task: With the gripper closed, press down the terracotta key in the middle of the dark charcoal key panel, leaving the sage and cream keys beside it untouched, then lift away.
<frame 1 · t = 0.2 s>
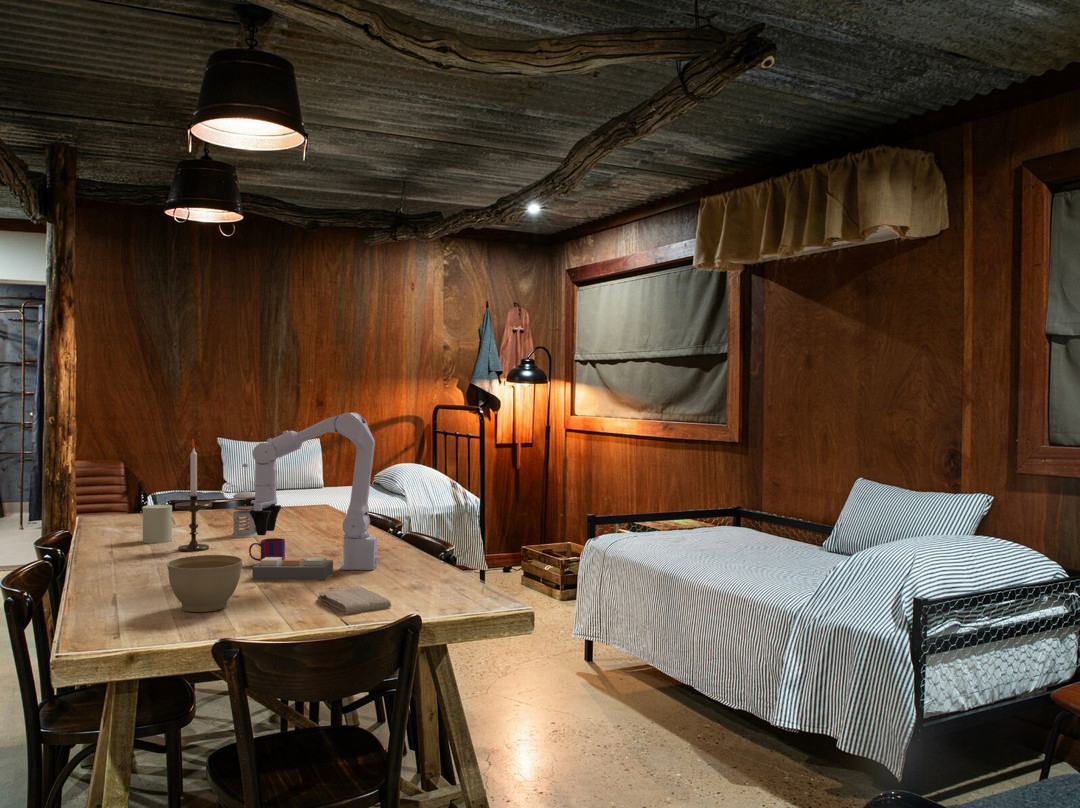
hand: (265, 533, 247), 10 cm above the table, fingers open, 7 cm apart
can: (157, 541, 290), on the table
washcloth: (353, 606, 206), on the table
planter bowl: (205, 609, 201), on the table
key panel: (293, 576, 236), on the table
terracotta key: (293, 562, 236), point 4 cm above the table, slide at 0.0 cm
candlestick: (193, 549, 275), on the table
cream key: (271, 562, 236), point 4 cm above the table, slide at 0.0 cm
french press: (247, 536, 302), on the table
sage key: (315, 563, 236), point 4 cm above the table, slide at 0.0 cm
mug: (266, 564, 253), on the table
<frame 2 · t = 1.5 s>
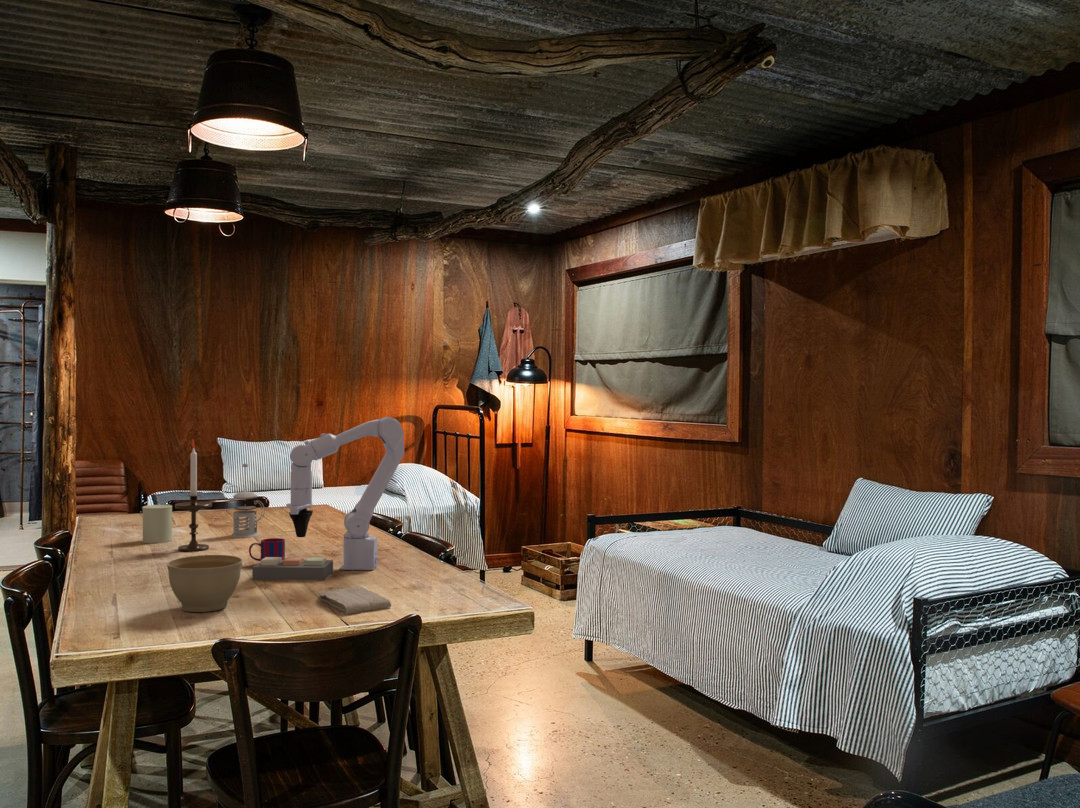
hand: (301, 536, 243), 9 cm above the table, fingers closed
nothing on the table moved.
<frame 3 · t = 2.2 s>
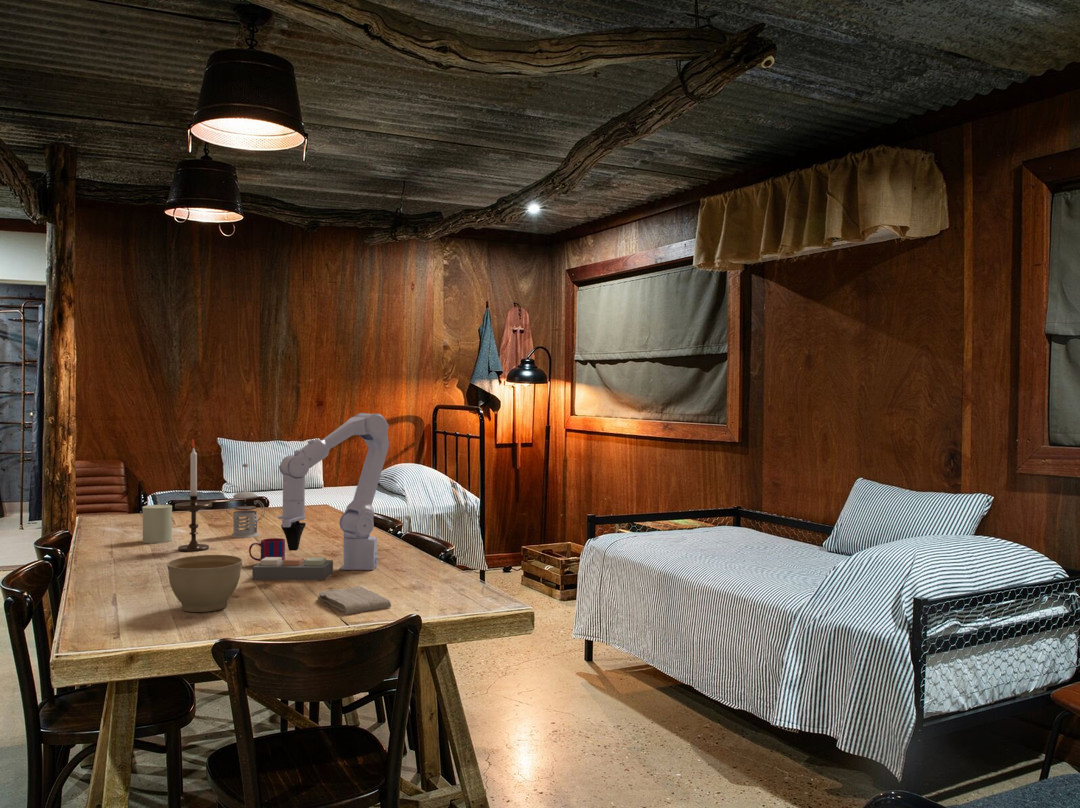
hand: (293, 550, 236), 7 cm above the table, fingers closed
nothing on the table moved.
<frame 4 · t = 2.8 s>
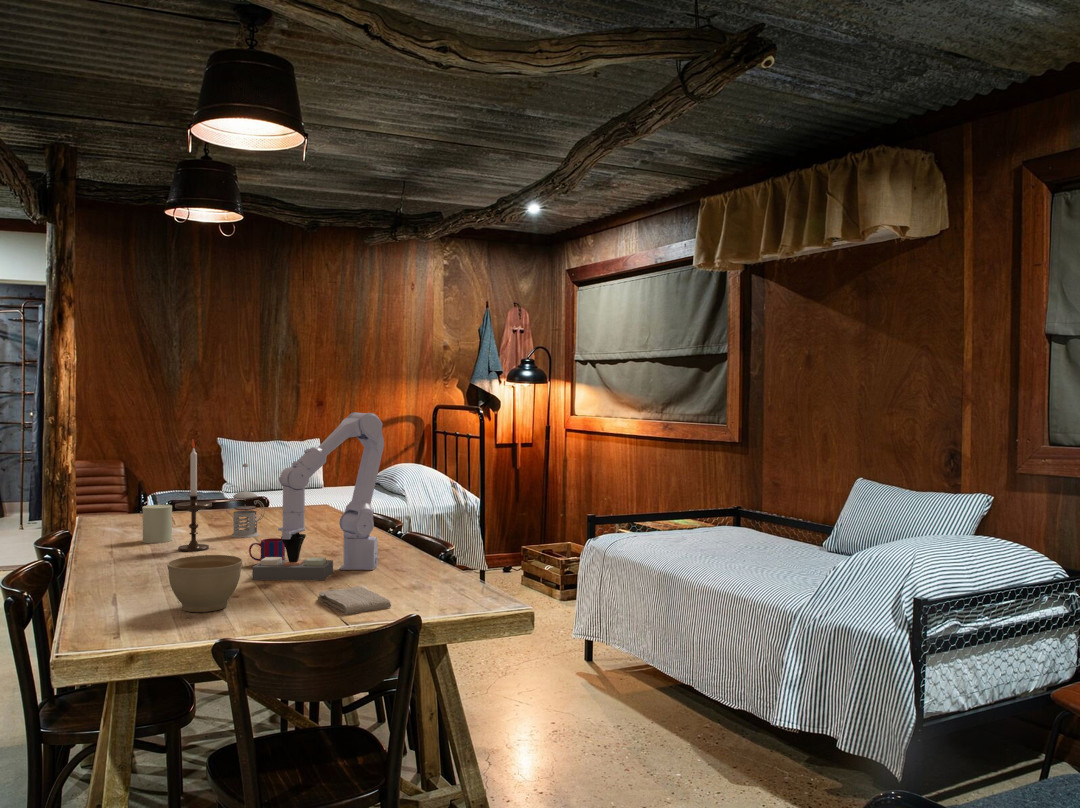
hand: (293, 561, 236), 4 cm above the table, fingers closed, pressing on terracotta key
terracotta key: (293, 565, 236), point 3 cm above the table, slide at 0.8 cm, touching gripper
everything else where it was.
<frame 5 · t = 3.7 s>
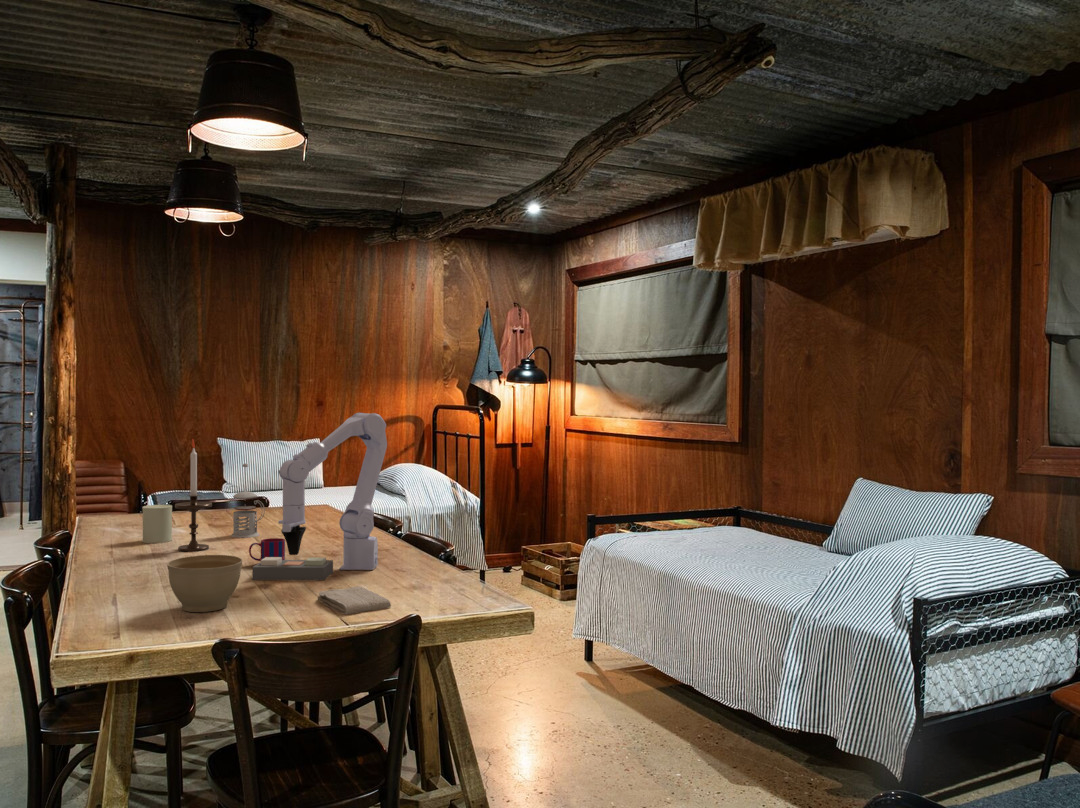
hand: (293, 554, 236), 6 cm above the table, fingers closed
terracotta key: (293, 567, 236), point 2 cm above the table, slide at 1.1 cm
everything else where it was.
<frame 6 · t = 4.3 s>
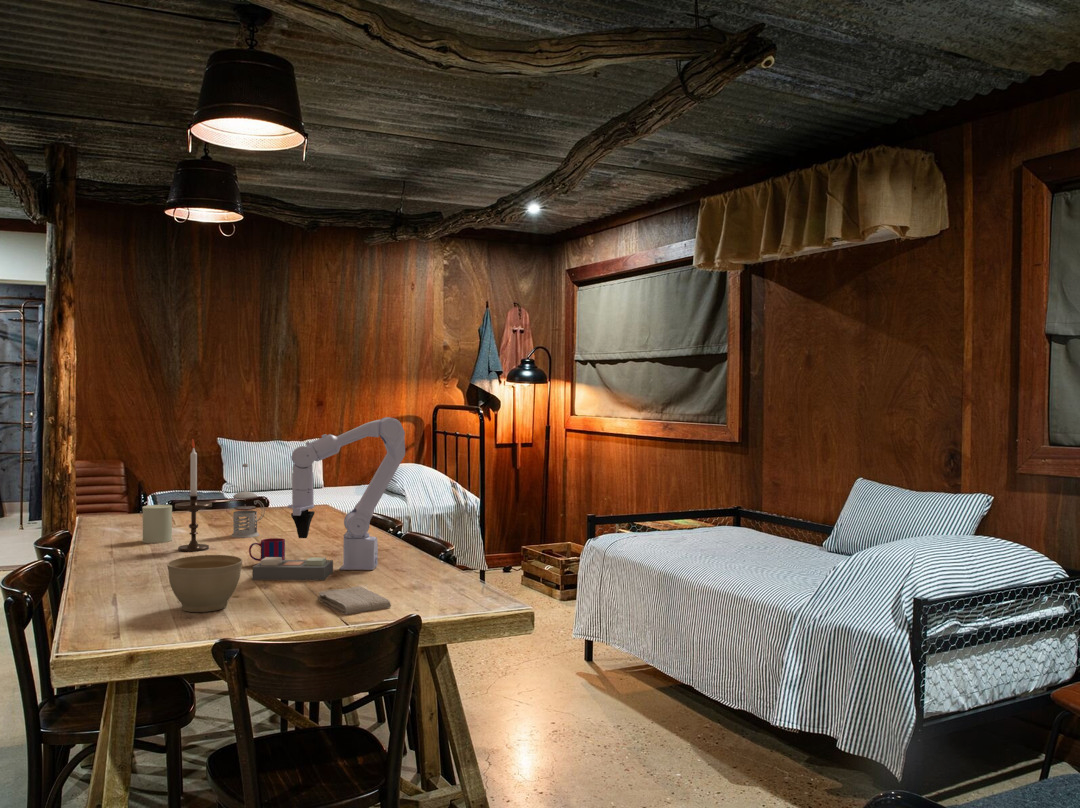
hand: (303, 537, 243), 9 cm above the table, fingers closed
nothing on the table moved.
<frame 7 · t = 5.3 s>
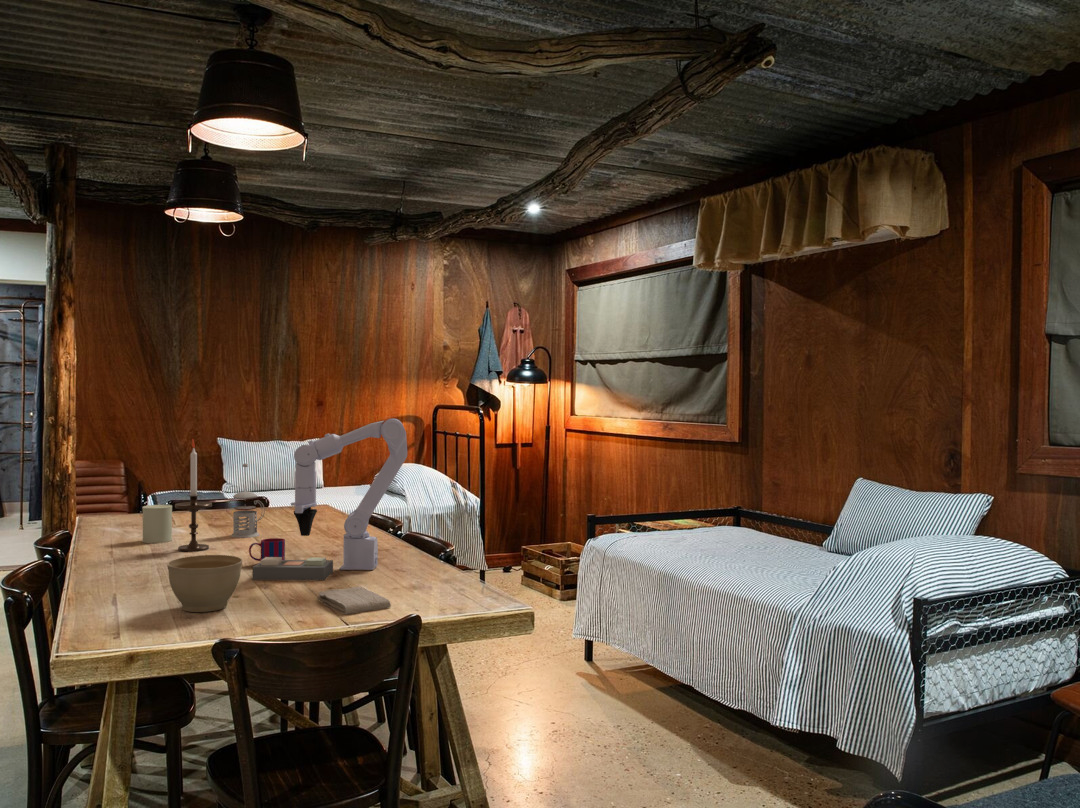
hand: (305, 535, 246), 9 cm above the table, fingers closed
nothing on the table moved.
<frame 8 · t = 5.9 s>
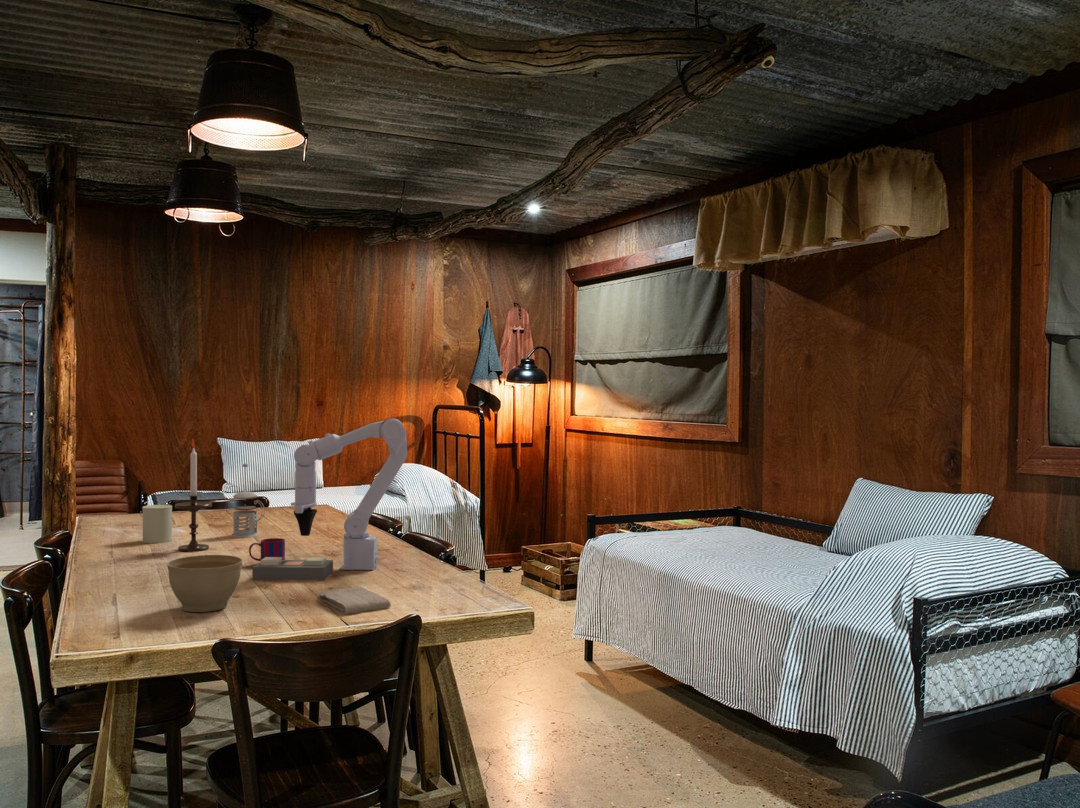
hand: (305, 535, 246), 9 cm above the table, fingers closed
nothing on the table moved.
at the end: terracotta key slide at 1.1 cm; sage key slide at 0.0 cm; cream key slide at 0.0 cm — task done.
